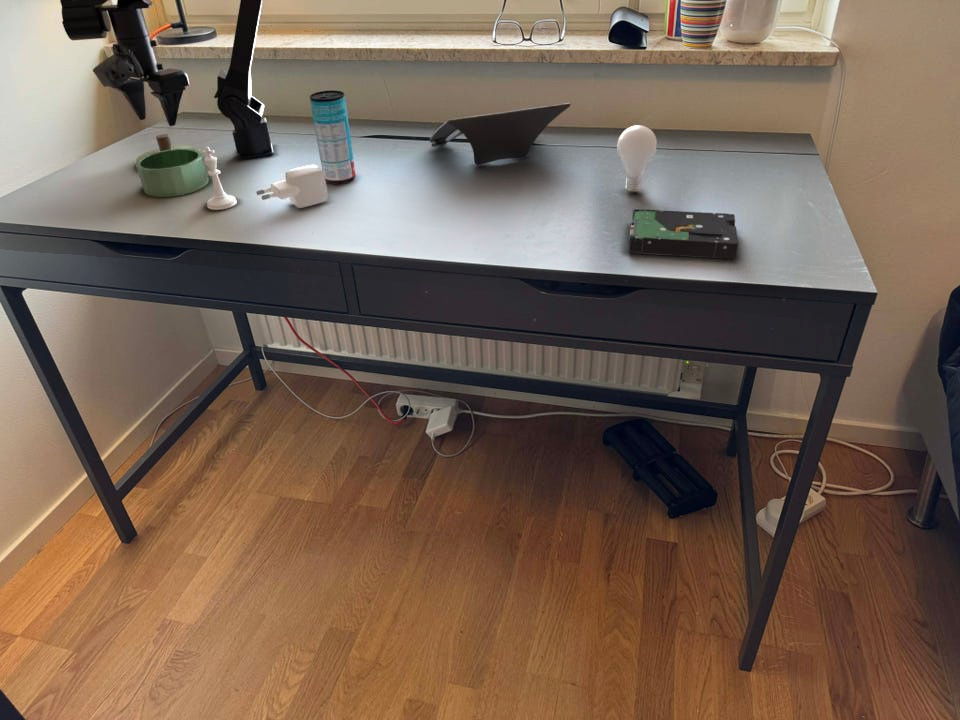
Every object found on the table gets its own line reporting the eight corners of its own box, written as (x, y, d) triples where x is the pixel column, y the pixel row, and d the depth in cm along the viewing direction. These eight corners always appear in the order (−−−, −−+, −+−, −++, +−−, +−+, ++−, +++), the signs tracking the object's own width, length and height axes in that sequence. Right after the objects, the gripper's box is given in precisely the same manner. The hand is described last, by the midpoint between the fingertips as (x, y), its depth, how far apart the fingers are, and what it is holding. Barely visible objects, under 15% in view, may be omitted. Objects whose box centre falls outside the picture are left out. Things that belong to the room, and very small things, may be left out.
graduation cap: (534, 163, 152) (527, 118, 150) (577, 143, 130) (569, 90, 128) (428, 179, 146) (420, 133, 145) (455, 162, 124) (445, 107, 123)
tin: (189, 170, 140) (182, 144, 137) (220, 183, 133) (213, 156, 130) (133, 187, 133) (124, 161, 130) (162, 202, 126) (154, 174, 124)
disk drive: (731, 230, 108) (630, 224, 111) (734, 213, 106) (632, 207, 109) (736, 262, 100) (627, 254, 103) (739, 243, 98) (629, 236, 101)
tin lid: (183, 147, 152) (176, 122, 149) (213, 159, 144) (207, 133, 142) (126, 163, 144) (117, 138, 142) (155, 177, 137) (146, 150, 134)
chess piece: (210, 199, 126) (195, 143, 121) (239, 197, 127) (225, 141, 121) (204, 210, 122) (188, 152, 117) (233, 208, 123) (219, 150, 117)
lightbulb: (654, 186, 123) (661, 121, 117) (649, 200, 118) (656, 133, 112) (617, 183, 125) (622, 119, 119) (610, 197, 120) (615, 131, 114)
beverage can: (362, 175, 133) (350, 91, 125) (344, 186, 129) (331, 100, 120) (335, 171, 135) (322, 89, 127) (317, 182, 131) (302, 98, 123)
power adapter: (268, 219, 118) (260, 185, 115) (258, 210, 122) (250, 176, 118) (331, 202, 123) (325, 169, 120) (320, 194, 126) (314, 161, 123)
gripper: (61, 40, 130) (91, 127, 139) (124, 49, 121) (152, 141, 130) (116, 29, 138) (141, 112, 147) (179, 36, 129) (201, 124, 138)
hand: (157, 122), depth 140 cm, fingers open, 9 cm apart
